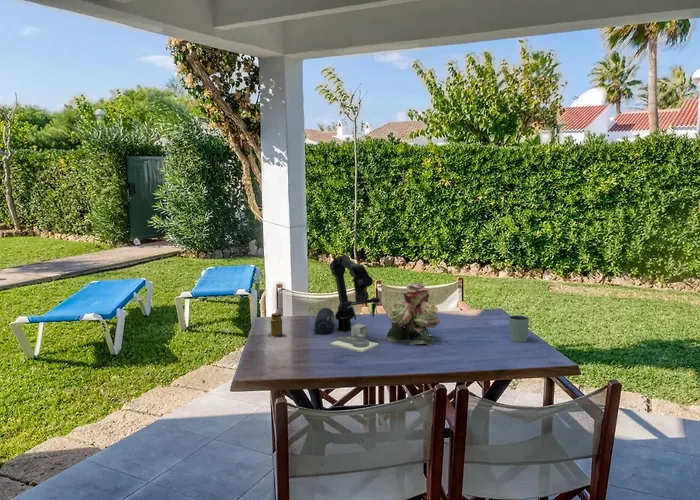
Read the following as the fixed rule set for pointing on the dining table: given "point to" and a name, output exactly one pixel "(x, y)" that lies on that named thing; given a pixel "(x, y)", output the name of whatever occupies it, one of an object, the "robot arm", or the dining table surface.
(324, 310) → the portable speaker
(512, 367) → the dining table surface
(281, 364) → the dining table surface
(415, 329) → the rose bouquet
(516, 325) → the green cup
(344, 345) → the board
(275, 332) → the condiment
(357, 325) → the brushed grey cube
